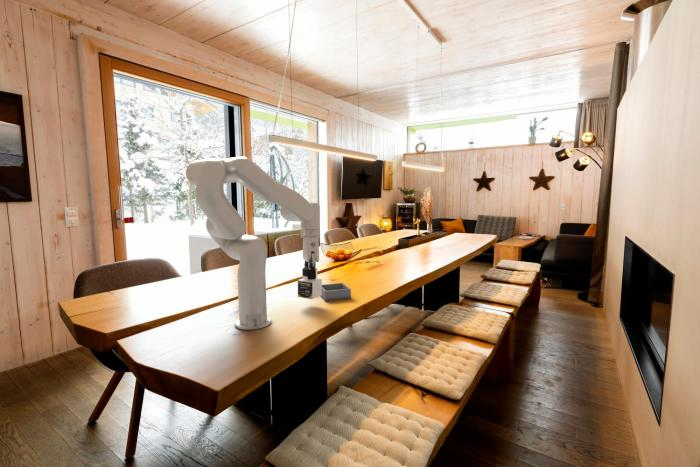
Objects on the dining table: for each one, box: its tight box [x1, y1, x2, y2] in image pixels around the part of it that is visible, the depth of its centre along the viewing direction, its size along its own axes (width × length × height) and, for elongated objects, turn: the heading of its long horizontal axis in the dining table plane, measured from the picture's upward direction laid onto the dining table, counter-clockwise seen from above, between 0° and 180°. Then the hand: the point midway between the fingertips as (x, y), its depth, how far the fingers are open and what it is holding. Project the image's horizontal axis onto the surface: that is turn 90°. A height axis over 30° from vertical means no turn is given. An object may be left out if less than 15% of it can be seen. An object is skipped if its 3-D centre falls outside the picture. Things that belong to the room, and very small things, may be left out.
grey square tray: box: [320, 282, 352, 303], centre depth 157 cm, size 12×12×4 cm
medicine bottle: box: [297, 267, 323, 300], centre depth 142 cm, size 7×7×12 cm
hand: (309, 277), depth 142 cm, fingers closed on medicine bottle, 6 cm apart
